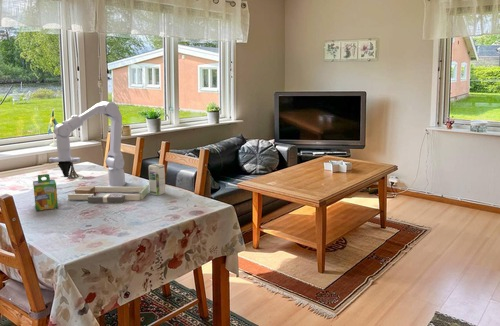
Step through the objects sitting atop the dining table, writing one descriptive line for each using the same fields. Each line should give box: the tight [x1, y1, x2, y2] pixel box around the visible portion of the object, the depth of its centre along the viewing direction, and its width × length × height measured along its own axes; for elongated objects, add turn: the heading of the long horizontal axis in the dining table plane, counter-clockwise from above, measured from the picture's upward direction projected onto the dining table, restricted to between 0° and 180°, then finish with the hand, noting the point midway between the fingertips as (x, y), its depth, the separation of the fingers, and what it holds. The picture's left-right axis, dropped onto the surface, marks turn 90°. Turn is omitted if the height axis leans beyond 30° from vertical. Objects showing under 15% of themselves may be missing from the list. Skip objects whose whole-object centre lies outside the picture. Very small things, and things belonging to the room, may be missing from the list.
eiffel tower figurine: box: [60, 162, 88, 180], centre depth 248 cm, size 15×10×13 cm
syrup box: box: [148, 163, 166, 196], centre depth 217 cm, size 6×6×14 cm
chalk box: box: [32, 173, 59, 212], centre depth 197 cm, size 9×9×15 cm
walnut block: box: [74, 185, 97, 195], centre depth 215 cm, size 7×7×4 cm
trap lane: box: [67, 184, 150, 204], centre depth 213 cm, size 18×35×4 cm, turn 89°
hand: (66, 176), depth 214 cm, fingers closed
